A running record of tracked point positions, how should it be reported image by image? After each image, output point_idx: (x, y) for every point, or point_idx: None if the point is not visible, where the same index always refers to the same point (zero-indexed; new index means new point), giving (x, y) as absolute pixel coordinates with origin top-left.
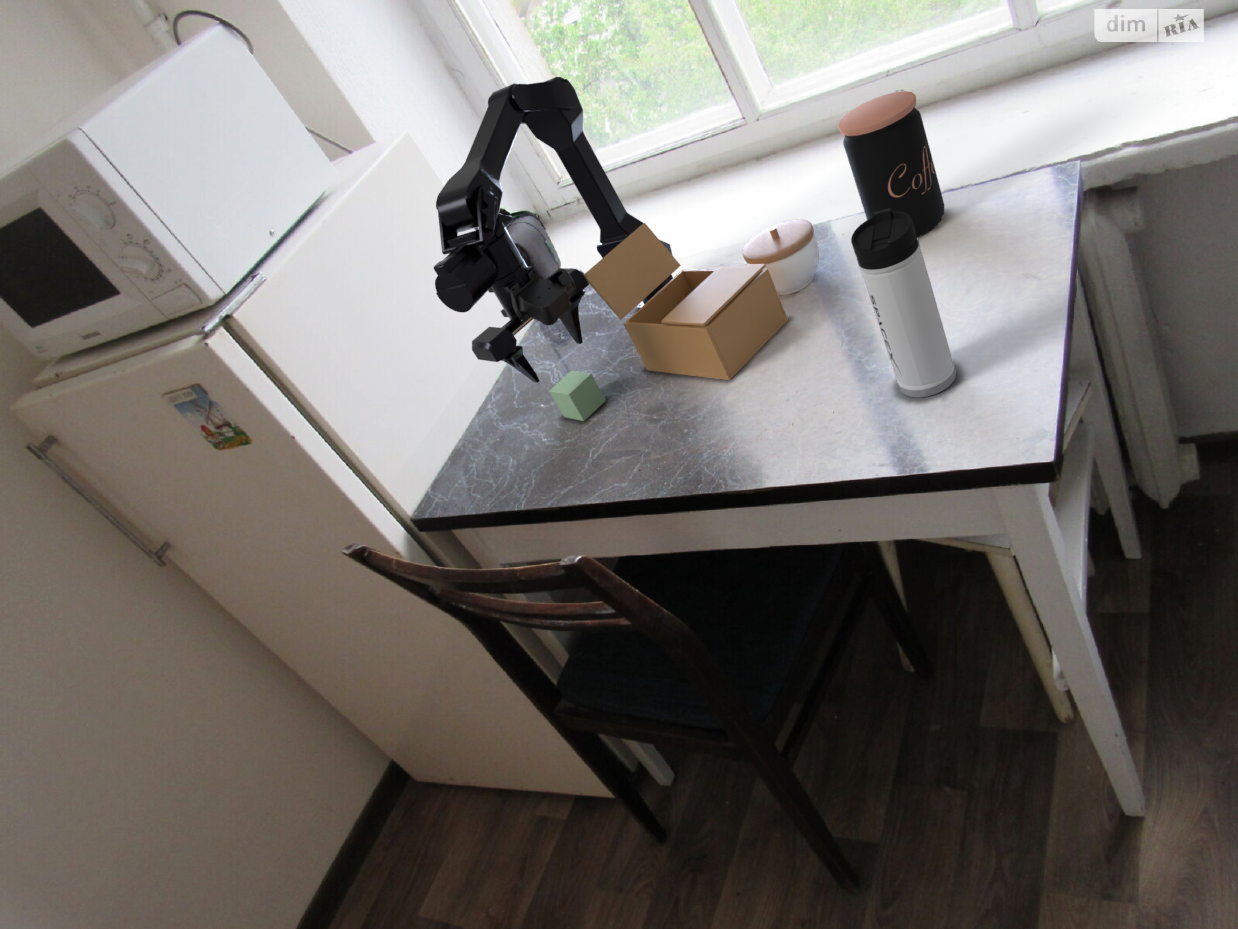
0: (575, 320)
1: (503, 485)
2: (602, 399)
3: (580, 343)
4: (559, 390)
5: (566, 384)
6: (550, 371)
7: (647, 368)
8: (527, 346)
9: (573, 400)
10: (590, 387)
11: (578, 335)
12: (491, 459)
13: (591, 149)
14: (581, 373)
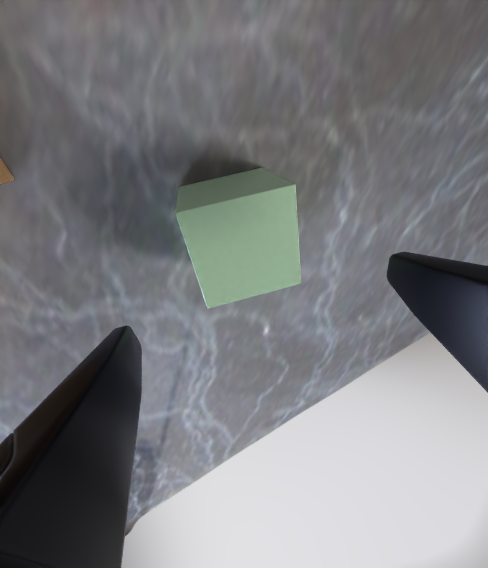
0: (29, 447)
1: (480, 161)
2: (187, 186)
3: (129, 326)
4: (288, 249)
5: (258, 254)
6: (198, 402)
7: (6, 173)
8: (186, 474)
9: (280, 180)
10: (204, 194)
11: (107, 353)
12: None
13: None
14: (197, 257)
